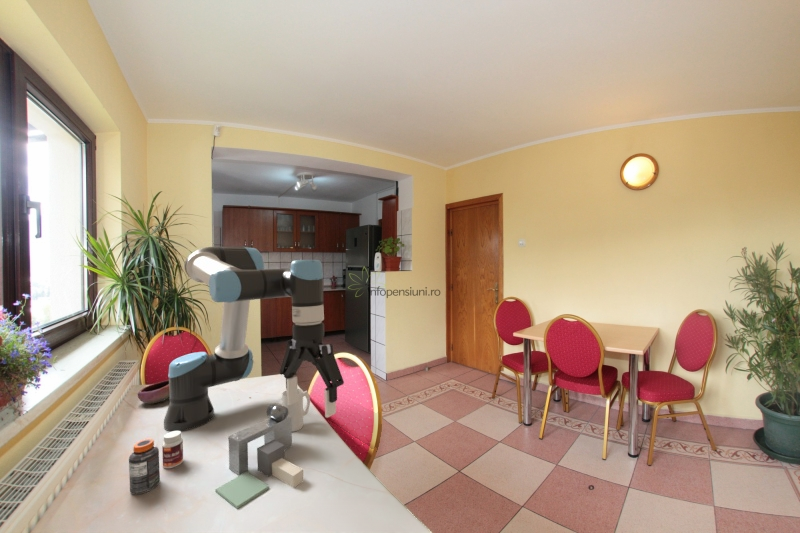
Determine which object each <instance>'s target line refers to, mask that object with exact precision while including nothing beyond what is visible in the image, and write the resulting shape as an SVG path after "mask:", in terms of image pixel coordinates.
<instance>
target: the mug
mask: <svg viewBox="0 0 800 533" xmlns="http://www.w3.org/2000/svg"><path fill="white" fill-rule="evenodd" d="M308 392H309V391H308V390H303V389H302V388H298V401H297V402H295V403H293V404H291V405H287V389H285V390H284V391H283V392H281V399H282V400H281V402H282V404H281V405H282V406H284V407H287V408H288V415H289V416H291V421H292V432H297V431H299V430H301V429H302V428H303V427H304V416H305V415H308V413H309V409H310V405H311V398H310V394H309V393H308ZM304 397H305V398H306V405H305V408H304Z"/></svg>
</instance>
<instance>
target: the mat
mask: <svg viewBox="0 0 800 533" xmlns="http://www.w3.org/2000/svg"><path fill="white" fill-rule="evenodd" d="M269 489H270V485H268V484H267V483H265V482H263V481H262V480H260V479H259V478H257V476H254V475H253V474H251V473H249V471H247V472H245V473H243V474H241V475H240V476H239V475H237V477H234V478H233V479H231V480H230V481H228V482H225V483H224V484H222V485H221V486H219V487H217V488H216V489H215V493H217V494H218V495H219V496H220V497H221V498H222V499H224V500H225V501H227V503H228V504H231V505H232V506H233V507H234V508H235V509H237V510H238V509H240V508H241V507H242V506H244V505H245V504H247V503H248V502H251V501H252V500H253V499H254V498H256V497H257V496H259V495H261V494H263V493H264V492H265V491H267V490H269Z"/></svg>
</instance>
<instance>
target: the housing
mask: <svg viewBox="0 0 800 533" xmlns="http://www.w3.org/2000/svg"><path fill="white" fill-rule="evenodd" d="M266 415H267V416H268V418H266V419H264V420H262V421H260V422H257V423H255V424H253V425H250V426H248V427H246V428H244V429H242V430H239V431H238V432H236V433H233V434H230V435H228V466H229V467H228V469H229V470H230V471H231V472H233V473H234V474H236V475H237V476H240V475H242V474H243V473H245V472H249V452H248V451H249V450H248V449H249V448H248V447H249V446H248V445H249V443H251V442H253V441H255V440H257V439H258V438H260V437H263V438H264V439H263V440H264V444H266V443H268V442H270V441H272V440H275V441H277V442H279V443H281V444H283V445H285V451H286V450H288V449H289V448H291V447H292V446H293V433H292V421H291V416H289V415H288V408H287V407H284V406H283V405H282V404H279V403H276V402H273V403H271V404H269V405H268V407H267V410H266ZM264 444H263V445H264Z"/></svg>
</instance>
